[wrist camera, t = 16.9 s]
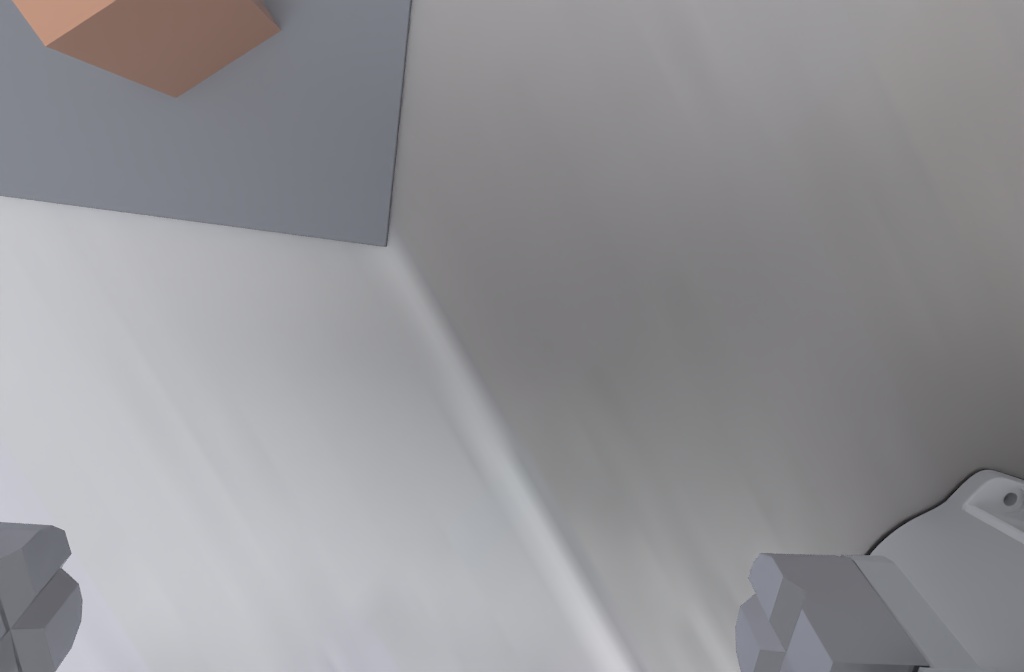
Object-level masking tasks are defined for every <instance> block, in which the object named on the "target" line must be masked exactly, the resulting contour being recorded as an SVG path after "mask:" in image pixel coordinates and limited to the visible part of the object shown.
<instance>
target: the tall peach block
mask: <svg viewBox="0 0 1024 672" xmlns="http://www.w3.org/2000/svg"><path fill="white" fill-rule="evenodd" d="M12 1H13V2H14V4H15V5H16V7H17V8H18V9H19V11H20V12H21V13H22V15H23V16H24V18H25V19H26V20H27V22H28V23H29V24H30V26H31V27H32V29H33V30H34V31H35V33H36V34H37V35H38V37H39V38H40V40H41V41H42V42H43V44H44V45H45V46H46V47H48V48H51V49H53V50H56V51H58V52H61V53H63V54H66V55H68V56H71V57H74V58H76V59H79V60H81V61H84V62H86V63H89V64H91V65H94V66H96V67H99V68H101V69H104V70H106V71H109V72H111V73H114V74H117V75H119V76H122V77H124V78H127V79H129V80H132V81H134V82H137V83H139V84H142V85H144V86H147V87H149V88H152V89H154V90H157V91H160V92H162V93H165V94H167V95H170V96H172V97H175V98H177V97H179V96H180V95H182V94H183V93H185V92H186V91H188V90H189V89H191V88H193V87H194V86H196V85H197V84H199V83H200V82H202V81H203V80H205V79H206V78H208V77H210V76H211V75H213V74H214V73H216V72H217V71H219V70H220V69H222V68H224V67H225V66H227V65H228V64H230V63H231V62H233V61H234V60H236V59H238V58H239V57H241V56H242V55H244V54H245V53H247V52H248V51H250V50H251V49H253V48H255V47H256V46H258V45H259V44H261V43H262V42H264V41H265V40H267V39H269V38H270V37H272V36H273V35H275V34H276V33H278V32H279V31H281V29H280V28H279V26H278V25H277V23H276V21H275V20H274V18H273V17H272V15H271V14H270V12H269V10H268V9H267V7H266V6H265V4H264V3H263V1H262V0H12Z"/></svg>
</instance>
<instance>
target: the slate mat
mask: <svg viewBox="0 0 1024 672" xmlns="http://www.w3.org/2000/svg"><path fill="white" fill-rule="evenodd" d="M262 1H263V3H264V4H265V6H266V7H267V9H268V10H269V12H270V14H271V15H272V17H273V18H274V20H275V21H276V23H277V25H278V26H279V28H280V29H281V31H279V32H278V33H276V34H275V35H273V36H272V37H270V38H269V39H267V40H265V41H264V42H262V43H261V44H259V45H258V46H256V47H255V48H253V49H251V50H250V51H248V52H247V53H245V54H244V55H242V56H241V57H239V58H238V59H236V60H234V61H233V62H231V63H230V64H228V65H227V66H225V67H224V68H222V69H220V70H219V71H217V72H216V73H214V74H213V75H211V76H210V77H208V78H206V79H205V80H203V81H202V82H200V83H199V84H197V85H196V86H194V87H193V88H191V89H189V90H188V91H186V92H185V93H183V94H182V95H180V96H179V97H177V98H175V97H172V96H170V95H167V94H165V93H162V92H160V91H157V90H154V89H152V88H149V87H147V86H144V85H142V84H139V83H137V82H134V81H132V80H129V79H127V78H124V77H122V76H119V75H117V74H114V73H111V72H109V71H106V70H104V69H101V68H99V67H96V66H94V65H91V64H89V63H86V62H84V61H81V60H79V59H76V58H74V57H71V56H68V55H66V54H63V53H61V52H58V51H56V50H53V49H51V48H48V47H46V46H45V45H44V44H43V42H42V41H41V40H40V38H39V37H38V35H37V34H36V33H35V31H34V30H33V29H32V27H31V26H30V24H29V23H28V22H27V20H26V19H25V18H24V16H23V15H22V13H21V12H20V11H19V9H18V8H17V7H16V5H15V4H14V2H13V1H12V0H0V196H6V197H13V198H21V199H28V200H36V201H44V202H51V203H59V204H66V205H74V206H81V207H89V208H96V209H104V210H112V211H119V212H127V213H134V214H142V215H149V216H157V217H164V218H172V219H180V220H187V221H195V222H202V223H210V224H217V225H225V226H232V227H240V228H248V229H255V230H263V231H270V232H278V233H285V234H293V235H300V236H308V237H316V238H323V239H331V240H338V241H346V242H353V243H361V244H368V245H376V246H383V247H386V246H387V237H388V227H389V217H390V208H391V198H392V188H393V178H394V168H395V158H396V149H397V139H398V129H399V119H400V109H401V99H402V89H403V80H404V70H405V60H406V50H407V40H408V30H409V21H410V11H411V1H412V0H262Z"/></svg>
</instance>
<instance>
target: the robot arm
mask: <svg viewBox="0 0 1024 672" xmlns="http://www.w3.org/2000/svg"><path fill="white" fill-rule="evenodd" d="M1006 495H1007V496H1006ZM1005 496H1006V497H1005ZM1004 497H1005V498H1004ZM70 555H71V550H70V547H69V544H68V540H67V537H66V534H65V531H64V530H62V529H59V528H57V527H55V526H52V525H37V524H21V523H5V522H0V672H55V671H56V670H57V668H58V667H59V666H60V664H61V663H62V661H63V660H64V658H65V657H66V655H67V654H68V652H69V651H70V649H71V648H72V645H73V642H74V640H75V637H76V634H77V631H78V629H79V626H80V623H81V617H82V596H81V592H80V587H79V584H78V583H77V582H76V581H75V580H74V579H73V578H72V577H71V576H70V575H68V574H67V573H66V572H65V571H64V570H63V569H62V566H63V565H64V563H65V562H66V561H67V559H68V558H69V556H70ZM748 579H749V581H750V583H751V585H752V587H753V589H754V591H755V594H754V595H753V596H752V597H751V598H750V599H748V600H747V601H746V602H745V603H744V604H742V605H741V606H740V610H739V614H738V618H737V622H736V627H735V634H736V653H737V657H738V661H739V666H740V670H741V672H1024V480H1022V479H1019V478H1016V477H1013V476H1010V475H1007V474H1004V473H1001V472H997V471H994V470H983V471H980V472H978V473H976V474H974V475H973V476H971V477H970V478H969V479H968V480H967V481H966V482H964V483H963V484H962V485H961V486H960V487H959V488H958V489H957V490H956V491H955V492H954V493H953V494H952V495H951V497H950V498H949V499H948V500H947V501H946V502H944V503H943V504H941V505H940V506H938V507H936V508H935V509H933V510H931V511H929V512H927V513H925V514H922V515H920V516H918V517H916V518H914V519H913V520H911V521H909V522H907V523H906V524H904V525H903V526H901V527H900V528H898V529H897V530H895V531H894V532H893V533H891V534H890V535H889V536H888V537H887V538H885V539H884V540H883V541H882V542H881V543H880V544H879V545H878V546H877V547H876V548H875V549H874V551H873V552H872V553H871V554H870V555H841V556H835V555H805V554H773V553H760V554H759V556H758V557H757V558H756V559H755V561H754V562H753V565H752V568H751V571H750V574H749V578H748Z"/></svg>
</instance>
